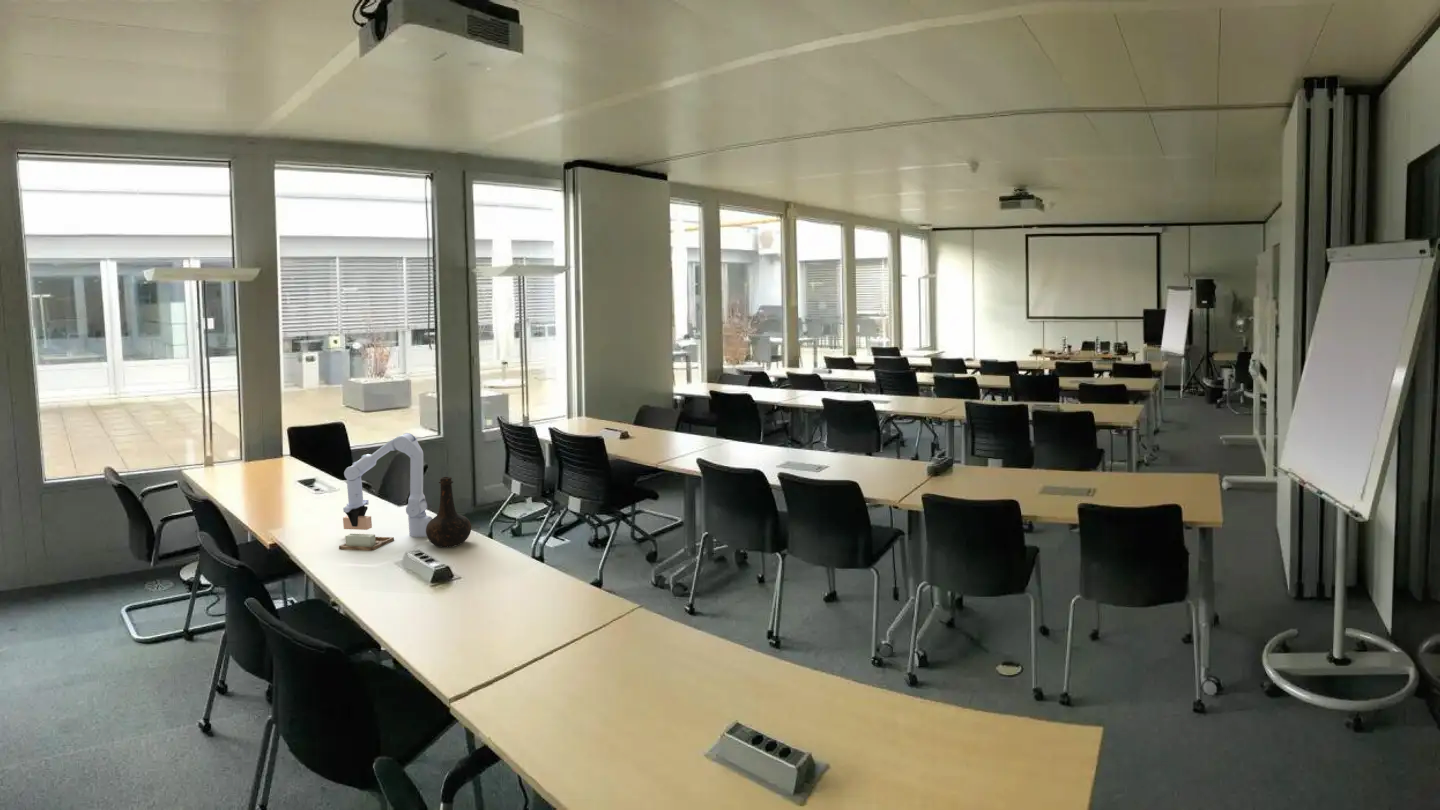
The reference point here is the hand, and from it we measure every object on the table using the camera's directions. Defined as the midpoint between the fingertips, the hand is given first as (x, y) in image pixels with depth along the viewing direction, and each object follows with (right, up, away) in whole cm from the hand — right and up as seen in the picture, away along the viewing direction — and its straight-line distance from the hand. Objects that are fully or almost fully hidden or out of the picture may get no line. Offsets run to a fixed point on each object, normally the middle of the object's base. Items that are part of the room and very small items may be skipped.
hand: (357, 525), depth 361 cm
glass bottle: (+43, -7, -12) cm, 45 cm away
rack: (+9, -7, -12) cm, 17 cm away
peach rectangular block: (0, -1, 0) cm, 2 cm away
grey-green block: (+8, -7, -16) cm, 19 cm away
